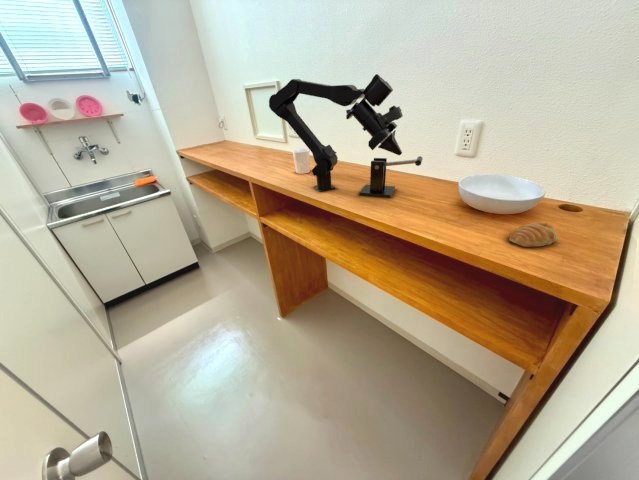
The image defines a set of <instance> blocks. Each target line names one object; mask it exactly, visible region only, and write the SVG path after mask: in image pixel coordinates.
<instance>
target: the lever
mask: <svg viewBox="0 0 639 480" xmlns="http://www.w3.org/2000/svg"><path fill="white" fill-rule="evenodd" d="M423 159H424V157H423V156H421V155H420V156H417V158H416V159H407V160H397V161H387V162H386V163H384V166H386V167H391V166H393V167H394V166H402V165H411V164H415V166H417V167H419V166H421V165H422V162H423ZM382 161H383V160H382Z"/></svg>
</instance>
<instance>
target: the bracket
mask: <svg viewBox="0 0 639 480" xmlns="http://www.w3.org/2000/svg"><path fill="white" fill-rule="evenodd" d="M382 160H383V161H382ZM387 160H388V158H387V157H374V158H373V160H370V174H369V175H370V176H369V177H370V178H369V184H367V183H366V184H364V186H363V187H362V188H361V190H359V193H358V195H359V197H369V198H370V197H371V198H383V199H391V198H392V196H393V194H394V193H395V192H394V191H395V190H396V186H394V185H386V179H387V166H384V163H386V162H388V161H387Z"/></svg>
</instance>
